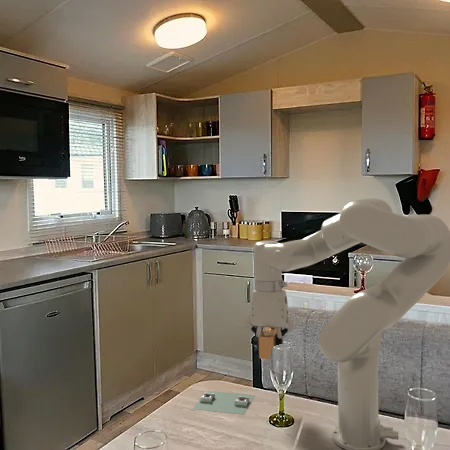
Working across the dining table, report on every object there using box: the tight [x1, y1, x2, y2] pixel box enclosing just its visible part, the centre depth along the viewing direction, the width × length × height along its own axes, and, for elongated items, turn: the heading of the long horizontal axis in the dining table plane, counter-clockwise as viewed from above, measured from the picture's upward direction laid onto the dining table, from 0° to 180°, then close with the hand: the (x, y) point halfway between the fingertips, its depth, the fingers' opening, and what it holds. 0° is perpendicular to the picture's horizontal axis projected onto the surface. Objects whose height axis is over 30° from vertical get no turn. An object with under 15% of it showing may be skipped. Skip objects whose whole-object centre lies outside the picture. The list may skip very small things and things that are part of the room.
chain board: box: [192, 390, 256, 416], centre depth 144 cm, size 15×13×1 cm
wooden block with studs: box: [258, 327, 277, 360], centre depth 138 cm, size 4×10×7 cm, turn 162°
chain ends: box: [199, 392, 250, 407], centre depth 144 cm, size 14×4×1 cm, turn 72°
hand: (270, 349), depth 138 cm, fingers closed on wooden block with studs, 4 cm apart
